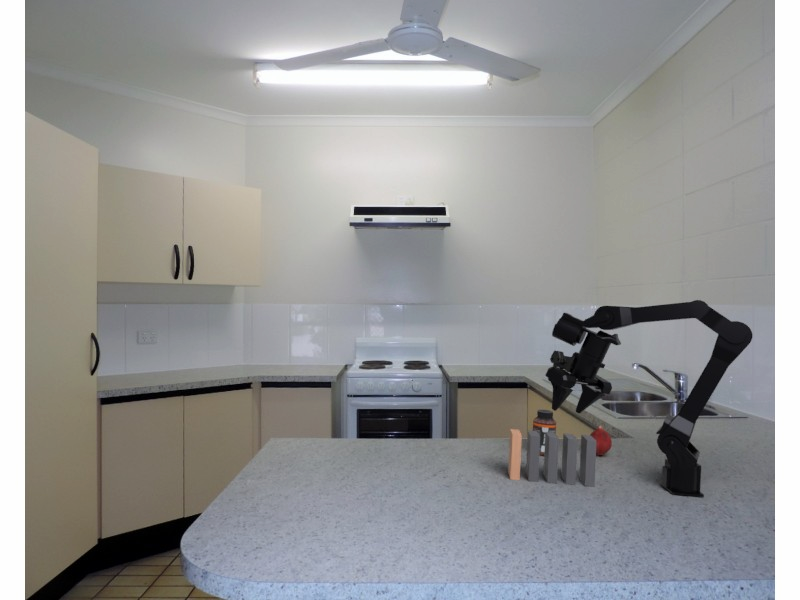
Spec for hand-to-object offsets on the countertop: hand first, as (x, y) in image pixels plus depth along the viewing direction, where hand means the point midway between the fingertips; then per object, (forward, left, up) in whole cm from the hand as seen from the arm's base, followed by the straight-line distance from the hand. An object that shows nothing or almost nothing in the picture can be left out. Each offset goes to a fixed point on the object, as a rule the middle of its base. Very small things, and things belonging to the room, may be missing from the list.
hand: (565, 411), depth 123 cm
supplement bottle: (+3, -9, -14) cm, 17 cm away
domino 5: (-3, +12, -13) cm, 18 cm away
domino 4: (+1, +12, -13) cm, 18 cm away
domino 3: (+5, +12, -13) cm, 19 cm away
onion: (-12, -11, -14) cm, 21 cm away
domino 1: (+13, +12, -13) cm, 22 cm away
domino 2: (+9, +12, -13) cm, 20 cm away
